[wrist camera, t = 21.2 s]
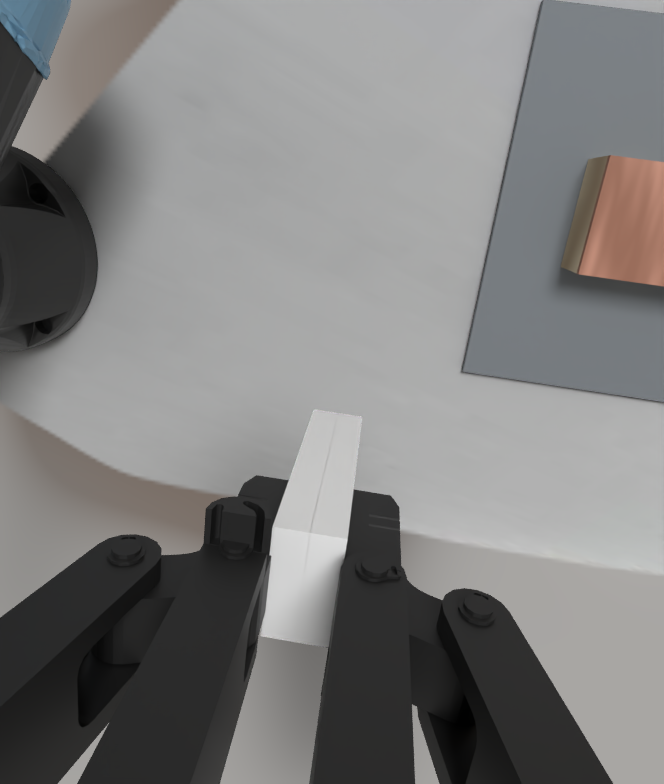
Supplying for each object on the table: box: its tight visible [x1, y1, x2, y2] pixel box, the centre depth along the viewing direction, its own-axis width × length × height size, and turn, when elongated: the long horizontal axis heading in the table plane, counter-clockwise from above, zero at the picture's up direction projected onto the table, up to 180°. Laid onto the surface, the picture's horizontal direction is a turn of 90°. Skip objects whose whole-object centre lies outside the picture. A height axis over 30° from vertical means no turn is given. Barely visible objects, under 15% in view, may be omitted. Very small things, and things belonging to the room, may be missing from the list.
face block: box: [561, 155, 664, 286], centre depth 37 cm, size 4×7×10 cm
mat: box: [462, 0, 664, 402], centre depth 39 cm, size 18×24×1 cm
